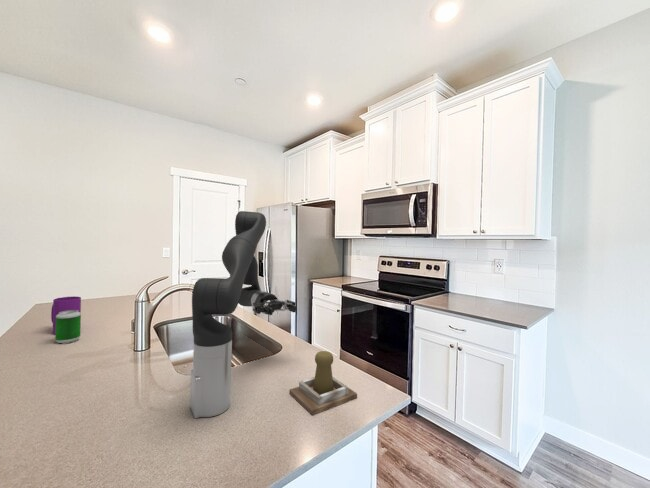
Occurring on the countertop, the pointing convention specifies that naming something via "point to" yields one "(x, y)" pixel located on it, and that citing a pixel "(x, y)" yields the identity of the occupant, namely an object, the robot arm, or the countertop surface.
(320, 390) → the olive pawn figure
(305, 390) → the spice dock
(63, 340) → the soda can
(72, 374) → the countertop surface
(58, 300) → the mug
